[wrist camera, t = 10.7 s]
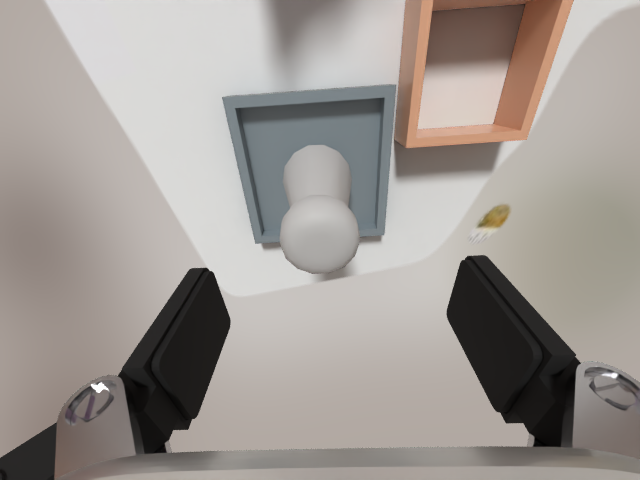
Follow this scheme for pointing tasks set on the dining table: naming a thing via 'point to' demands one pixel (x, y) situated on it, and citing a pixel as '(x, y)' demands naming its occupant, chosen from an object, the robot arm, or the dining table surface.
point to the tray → (312, 129)
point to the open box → (520, 84)
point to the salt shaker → (318, 211)
